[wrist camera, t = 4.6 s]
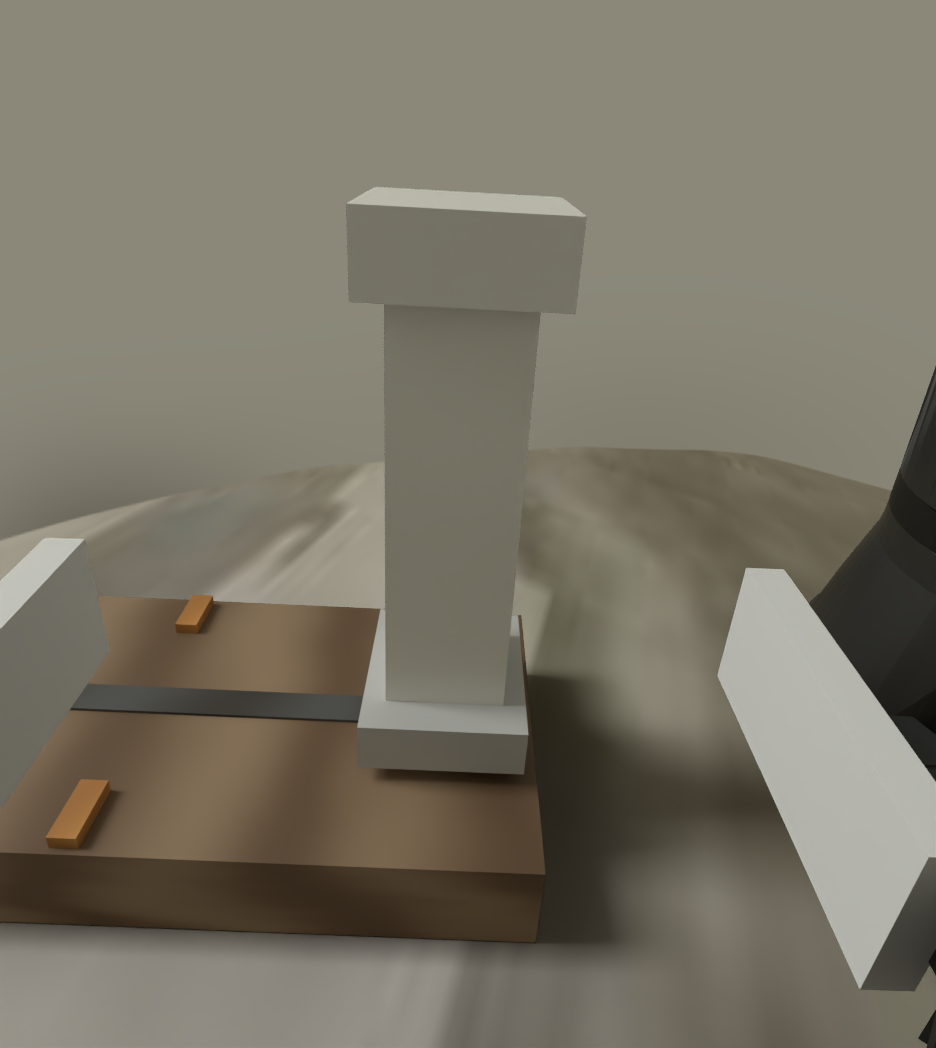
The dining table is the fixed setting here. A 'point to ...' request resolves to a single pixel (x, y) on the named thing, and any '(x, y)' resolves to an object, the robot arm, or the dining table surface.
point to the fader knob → (455, 460)
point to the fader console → (258, 793)
